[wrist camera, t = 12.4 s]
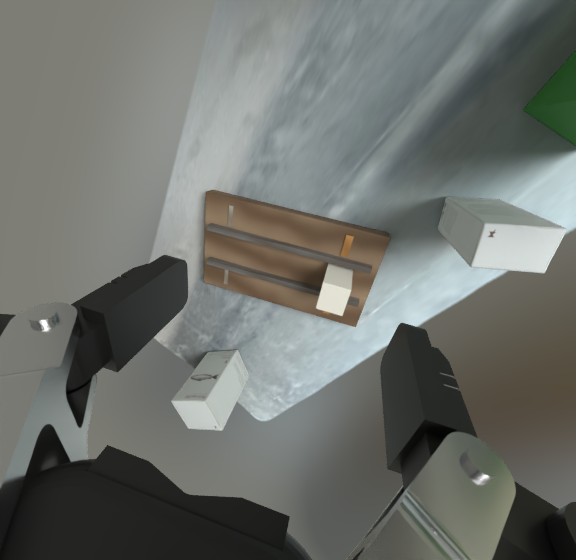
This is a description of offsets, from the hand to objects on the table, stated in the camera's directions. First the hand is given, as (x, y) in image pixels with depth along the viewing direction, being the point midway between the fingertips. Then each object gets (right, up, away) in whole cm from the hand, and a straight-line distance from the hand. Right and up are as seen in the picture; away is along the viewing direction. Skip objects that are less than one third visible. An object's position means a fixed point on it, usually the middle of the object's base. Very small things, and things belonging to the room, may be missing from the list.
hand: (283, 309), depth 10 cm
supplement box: (-12, -16, +46) cm, 50 cm away
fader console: (0, +5, +32) cm, 32 cm away
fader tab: (+7, +1, +29) cm, 30 cm away
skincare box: (+22, +9, +23) cm, 34 cm away
